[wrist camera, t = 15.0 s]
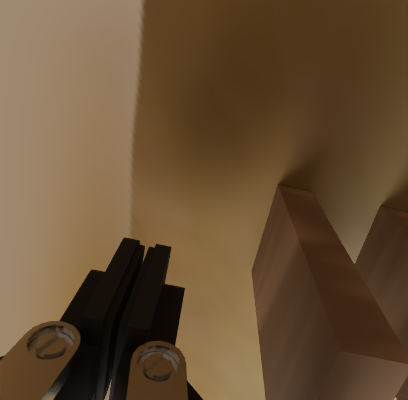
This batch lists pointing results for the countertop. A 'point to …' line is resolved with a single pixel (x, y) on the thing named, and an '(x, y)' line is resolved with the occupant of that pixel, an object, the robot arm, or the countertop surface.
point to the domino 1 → (318, 312)
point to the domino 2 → (389, 272)
